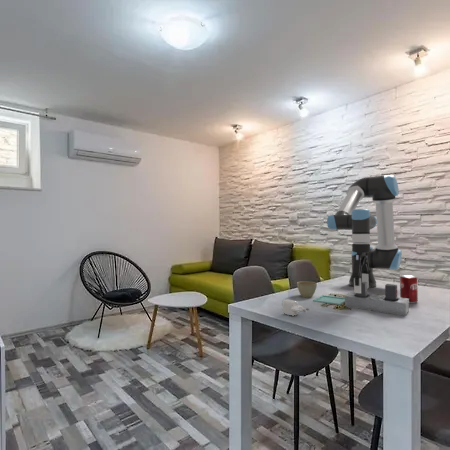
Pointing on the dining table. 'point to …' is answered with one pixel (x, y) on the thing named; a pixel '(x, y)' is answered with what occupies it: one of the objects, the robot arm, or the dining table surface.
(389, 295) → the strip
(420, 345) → the dining table surface
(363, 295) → the plug
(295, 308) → the white lumpy piece
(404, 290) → the soda can
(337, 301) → the tray
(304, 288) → the flower pot
